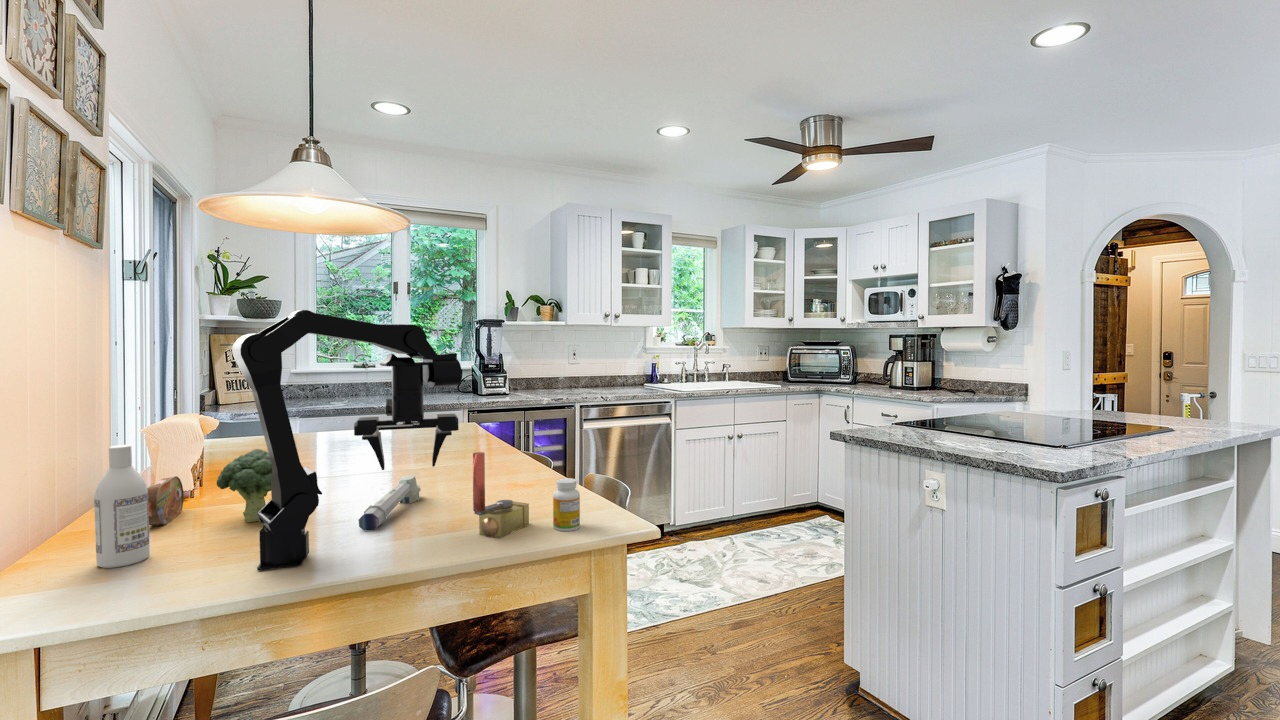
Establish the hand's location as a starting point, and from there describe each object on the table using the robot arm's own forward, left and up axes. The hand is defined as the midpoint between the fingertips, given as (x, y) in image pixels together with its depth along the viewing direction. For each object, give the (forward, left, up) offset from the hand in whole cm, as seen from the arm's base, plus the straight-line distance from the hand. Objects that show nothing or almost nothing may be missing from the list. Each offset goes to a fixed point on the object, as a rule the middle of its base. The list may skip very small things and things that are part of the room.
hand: (408, 467), depth 117 cm
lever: (+16, -6, -8) cm, 19 cm away
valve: (+18, -4, -13) cm, 23 cm away
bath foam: (-46, +1, -13) cm, 48 cm away
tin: (-49, +27, -13) cm, 58 cm away
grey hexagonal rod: (-4, +16, -14) cm, 22 cm away
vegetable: (-31, +20, -13) cm, 39 cm away
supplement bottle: (+30, -7, -13) cm, 34 cm away
